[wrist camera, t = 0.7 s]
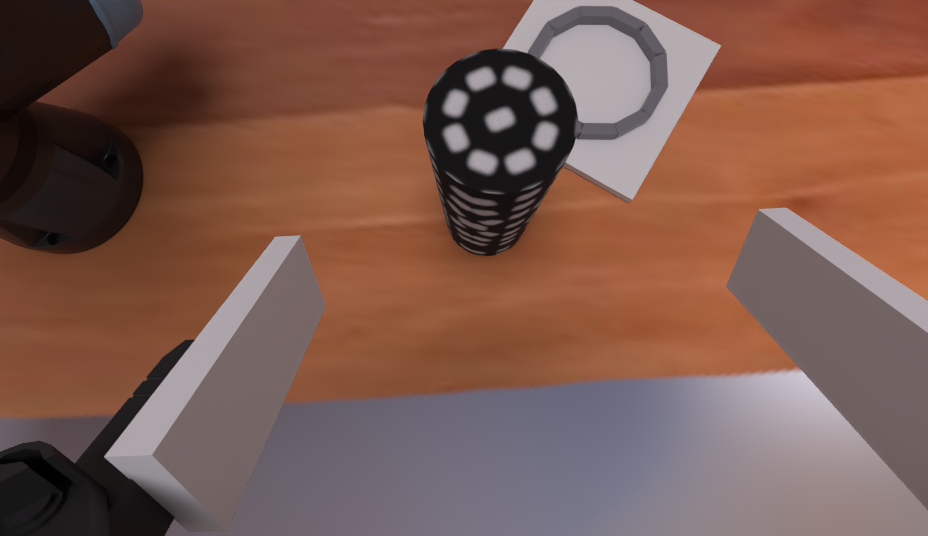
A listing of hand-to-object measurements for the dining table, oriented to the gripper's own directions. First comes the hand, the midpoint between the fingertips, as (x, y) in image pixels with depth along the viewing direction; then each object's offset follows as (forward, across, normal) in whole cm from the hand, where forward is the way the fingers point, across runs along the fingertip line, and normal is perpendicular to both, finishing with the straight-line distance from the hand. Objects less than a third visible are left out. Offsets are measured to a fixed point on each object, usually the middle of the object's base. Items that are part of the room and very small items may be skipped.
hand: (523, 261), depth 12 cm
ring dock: (+37, +12, -2) cm, 39 cm away
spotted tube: (+27, 0, -13) cm, 29 cm away
